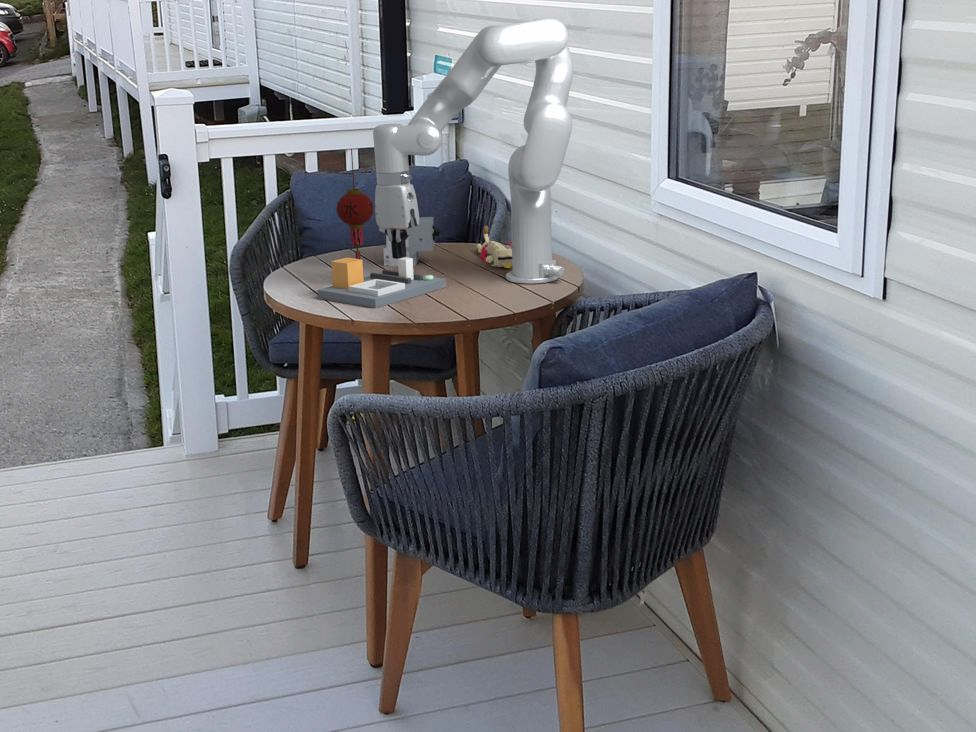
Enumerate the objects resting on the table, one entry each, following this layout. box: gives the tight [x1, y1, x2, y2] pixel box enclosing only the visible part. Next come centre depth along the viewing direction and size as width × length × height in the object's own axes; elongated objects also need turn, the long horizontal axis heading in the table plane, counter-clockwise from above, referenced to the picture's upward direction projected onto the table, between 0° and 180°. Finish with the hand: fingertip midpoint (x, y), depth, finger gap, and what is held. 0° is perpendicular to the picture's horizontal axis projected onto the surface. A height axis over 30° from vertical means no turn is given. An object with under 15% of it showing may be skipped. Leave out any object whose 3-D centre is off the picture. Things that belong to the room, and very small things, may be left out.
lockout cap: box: [330, 257, 364, 289], centre depth 268 cm, size 5×5×6 cm
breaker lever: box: [397, 257, 414, 280], centre depth 272 cm, size 2×2×5 cm
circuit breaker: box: [382, 216, 441, 267], centre depth 301 cm, size 8×14×15 cm, turn 89°
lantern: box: [336, 148, 375, 259], centre depth 294 cm, size 10×10×30 cm
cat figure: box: [474, 225, 512, 269], centre depth 301 cm, size 10×9×25 cm
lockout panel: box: [316, 269, 447, 309], centre depth 270 cm, size 18×24×3 cm
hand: (399, 257), depth 273 cm, fingers closed
